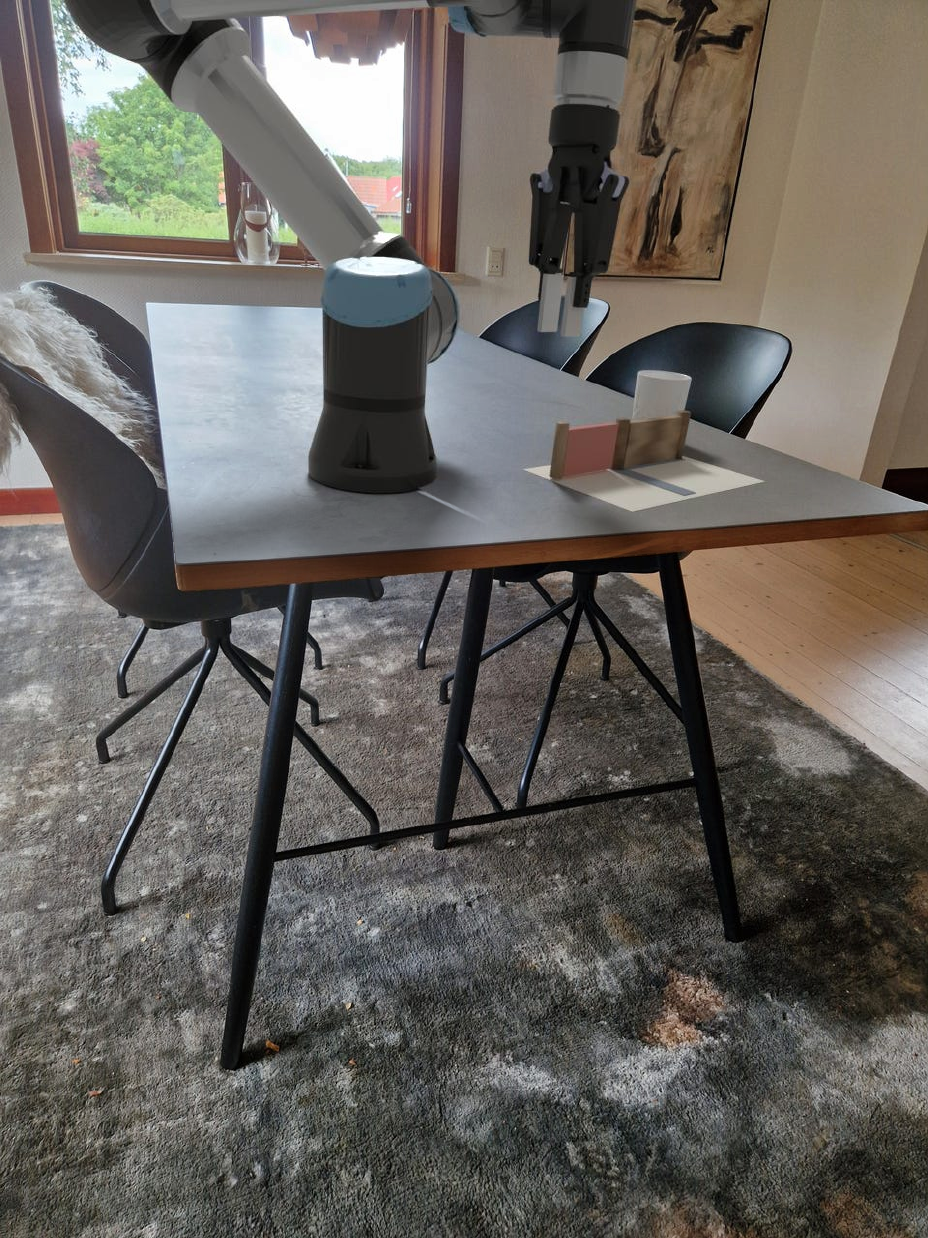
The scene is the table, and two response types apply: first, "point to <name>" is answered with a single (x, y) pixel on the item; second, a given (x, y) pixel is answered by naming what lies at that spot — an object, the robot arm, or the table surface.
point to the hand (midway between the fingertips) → (558, 333)
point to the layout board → (652, 482)
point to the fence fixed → (650, 440)
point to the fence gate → (582, 449)
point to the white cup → (660, 394)
